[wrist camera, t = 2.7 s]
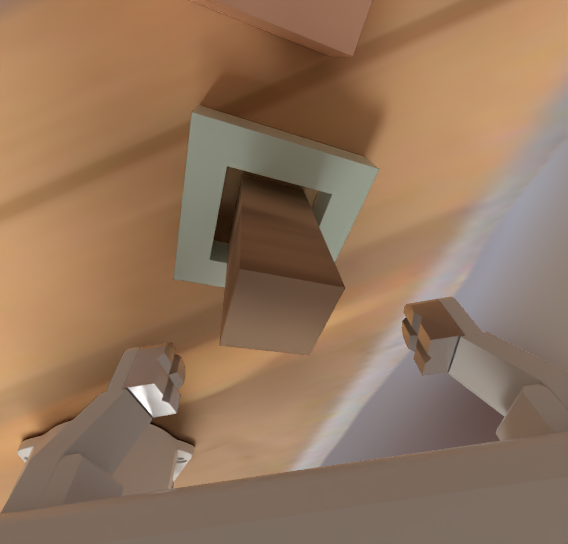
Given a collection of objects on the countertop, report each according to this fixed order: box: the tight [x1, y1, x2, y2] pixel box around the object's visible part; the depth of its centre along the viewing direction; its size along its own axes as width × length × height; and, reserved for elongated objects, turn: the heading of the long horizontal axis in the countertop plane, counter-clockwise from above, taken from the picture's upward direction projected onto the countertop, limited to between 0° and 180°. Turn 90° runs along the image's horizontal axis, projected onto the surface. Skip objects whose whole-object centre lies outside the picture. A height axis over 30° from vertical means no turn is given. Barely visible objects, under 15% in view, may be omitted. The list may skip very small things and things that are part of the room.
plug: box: [220, 174, 345, 355], centre depth 16 cm, size 4×4×10 cm
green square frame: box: [174, 105, 379, 288], centre depth 19 cm, size 10×10×2 cm
